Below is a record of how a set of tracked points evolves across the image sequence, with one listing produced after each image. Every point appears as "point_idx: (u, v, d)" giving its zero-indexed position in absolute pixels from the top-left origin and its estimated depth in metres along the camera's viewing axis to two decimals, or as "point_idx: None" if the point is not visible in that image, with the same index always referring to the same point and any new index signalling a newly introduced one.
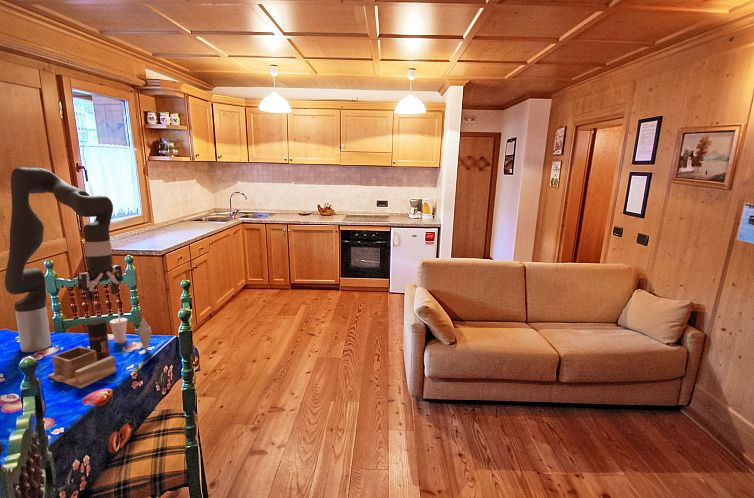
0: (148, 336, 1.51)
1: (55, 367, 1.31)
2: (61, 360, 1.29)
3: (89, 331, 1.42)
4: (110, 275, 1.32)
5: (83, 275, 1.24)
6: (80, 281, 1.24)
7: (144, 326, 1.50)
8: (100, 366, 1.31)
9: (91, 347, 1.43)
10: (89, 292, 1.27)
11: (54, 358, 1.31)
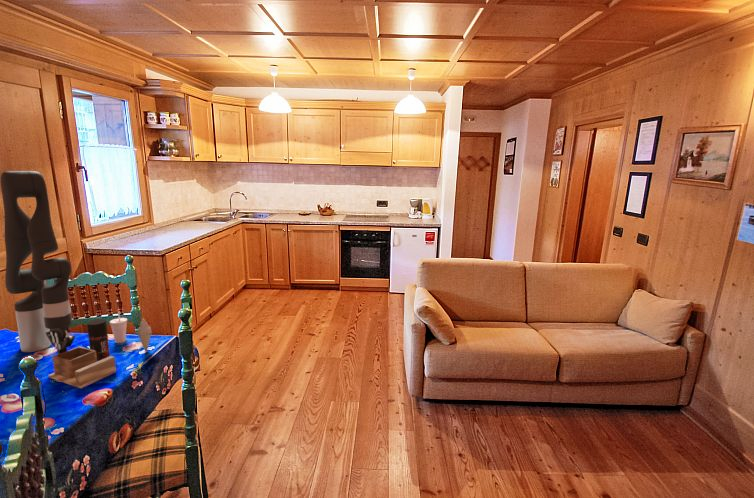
0: (148, 336, 1.51)
1: (55, 367, 1.31)
2: (61, 360, 1.29)
3: (89, 331, 1.42)
4: None
5: None
6: (69, 342, 1.33)
7: (144, 326, 1.50)
8: (100, 366, 1.31)
9: (91, 347, 1.43)
10: None
11: (54, 358, 1.31)
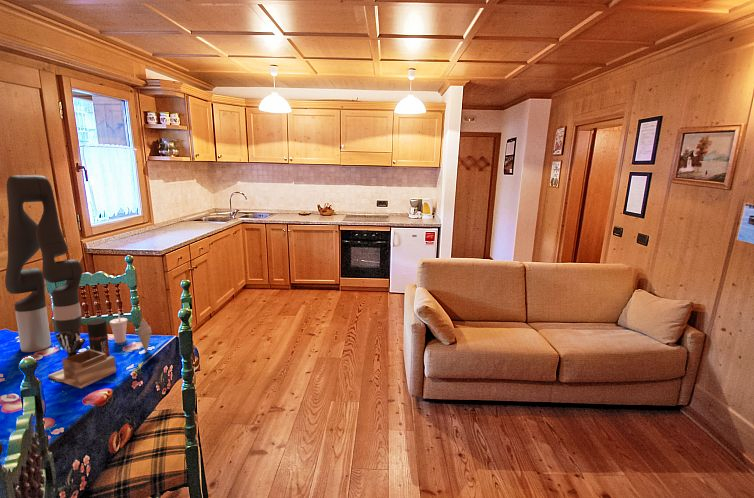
0: (148, 336, 1.51)
1: (65, 370, 1.29)
2: (71, 363, 1.28)
3: (89, 331, 1.42)
4: None
5: (84, 340, 1.32)
6: (79, 345, 1.32)
7: (144, 326, 1.50)
8: (100, 366, 1.31)
9: (91, 347, 1.43)
10: None
11: (64, 361, 1.29)
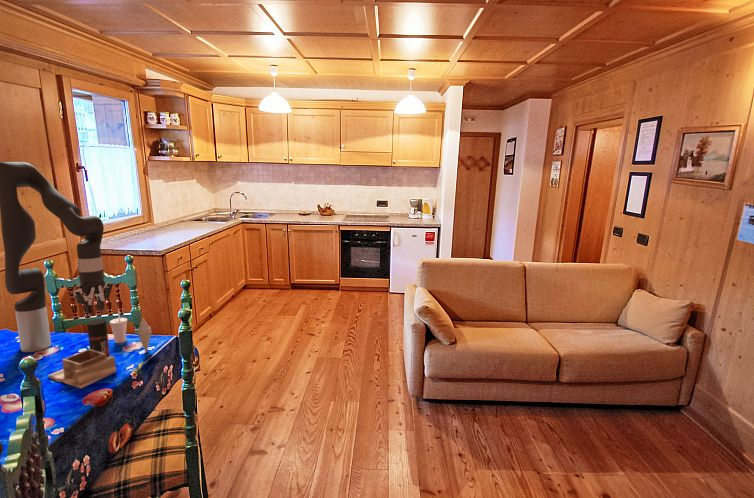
0: (148, 336, 1.51)
1: (65, 370, 1.29)
2: (71, 363, 1.28)
3: (89, 331, 1.42)
4: None
5: None
6: None
7: (144, 326, 1.50)
8: (100, 366, 1.31)
9: (91, 347, 1.43)
10: None
11: (64, 361, 1.29)
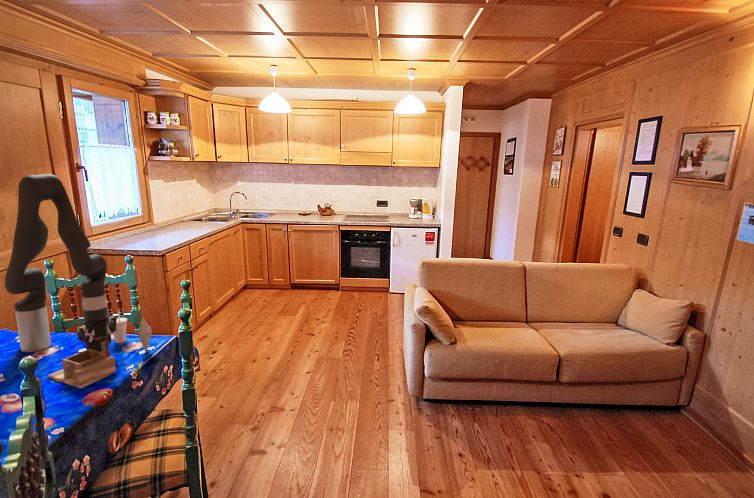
0: (148, 336, 1.51)
1: (65, 370, 1.29)
2: (71, 363, 1.28)
3: (89, 331, 1.42)
4: None
5: None
6: None
7: (144, 326, 1.50)
8: (100, 366, 1.31)
9: None
10: None
11: (64, 361, 1.29)
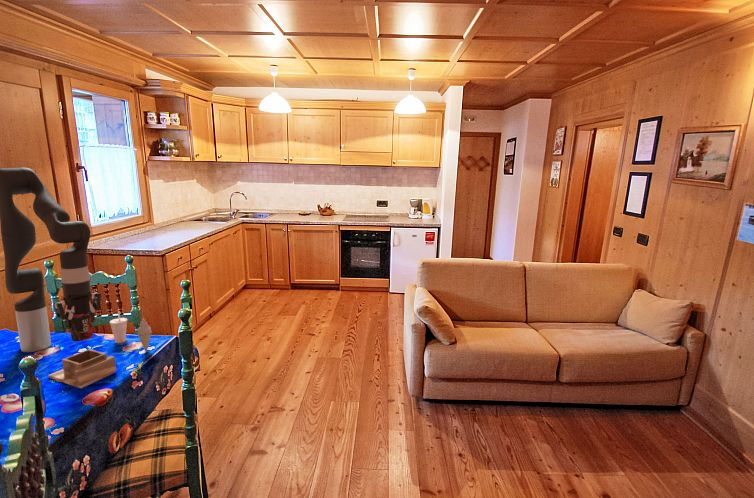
0: (148, 336, 1.51)
1: (65, 370, 1.29)
2: (71, 363, 1.28)
3: (69, 307, 1.26)
4: None
5: None
6: None
7: (144, 326, 1.50)
8: (100, 366, 1.31)
9: None
10: None
11: (64, 361, 1.29)
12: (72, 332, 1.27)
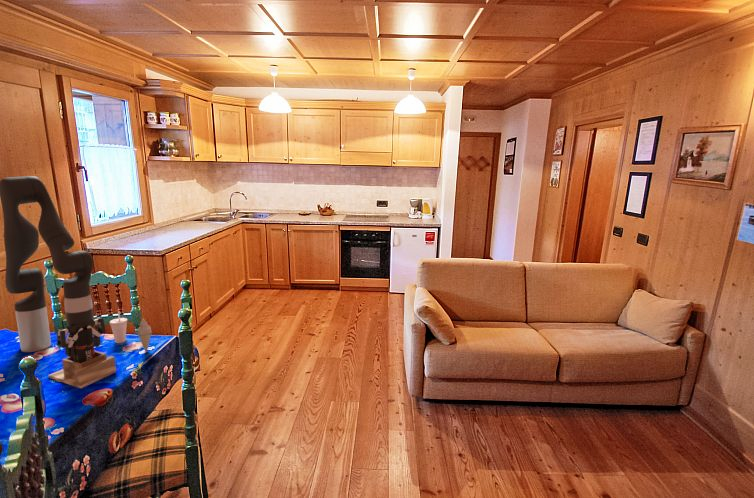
0: (148, 336, 1.51)
1: (65, 370, 1.30)
2: (71, 363, 1.28)
3: None
4: None
5: None
6: None
7: (144, 326, 1.50)
8: (100, 366, 1.31)
9: (75, 357, 1.29)
10: None
11: (64, 361, 1.29)
12: None
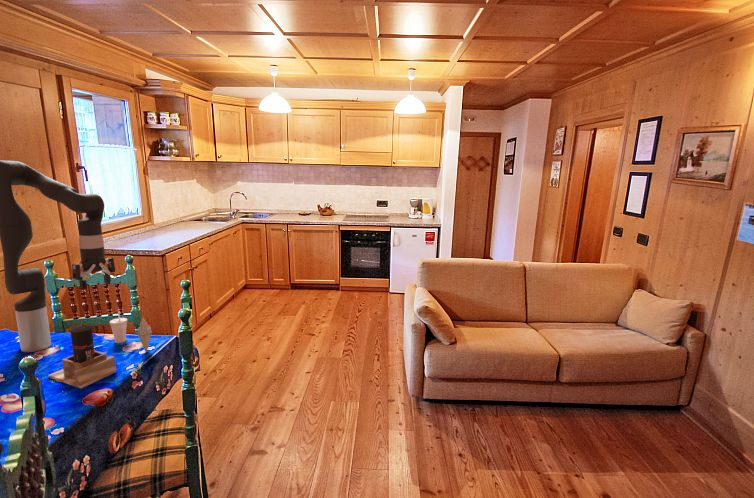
0: (148, 336, 1.51)
1: (65, 370, 1.30)
2: (71, 363, 1.28)
3: (73, 339, 1.28)
4: None
5: None
6: None
7: (144, 326, 1.50)
8: (100, 366, 1.31)
9: (75, 357, 1.29)
10: None
11: (64, 361, 1.29)
12: None
